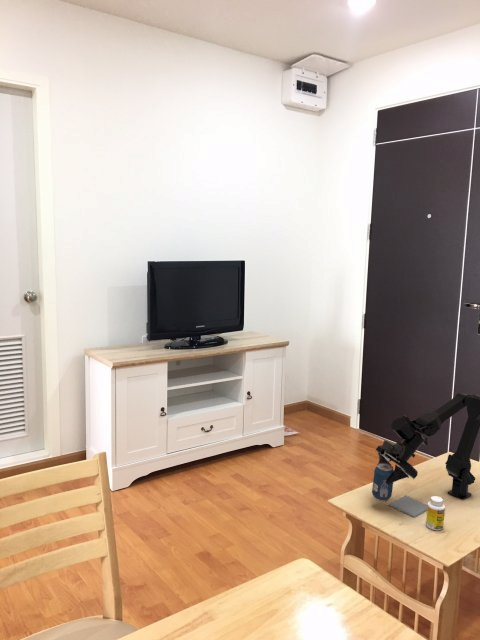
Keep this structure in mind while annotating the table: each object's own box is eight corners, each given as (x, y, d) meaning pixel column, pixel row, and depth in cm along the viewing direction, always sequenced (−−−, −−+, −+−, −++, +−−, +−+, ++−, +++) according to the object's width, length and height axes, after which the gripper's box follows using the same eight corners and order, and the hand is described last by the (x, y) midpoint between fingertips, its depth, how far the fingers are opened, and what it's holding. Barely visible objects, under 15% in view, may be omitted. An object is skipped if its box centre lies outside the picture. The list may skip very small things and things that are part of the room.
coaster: (405, 496, 202) (405, 495, 202) (431, 508, 193) (431, 506, 193) (387, 505, 195) (388, 503, 195) (414, 517, 187) (414, 516, 186)
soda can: (382, 489, 197) (386, 460, 195) (395, 499, 191) (399, 469, 189) (367, 493, 194) (371, 463, 192) (380, 503, 188) (383, 472, 186)
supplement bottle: (436, 533, 177) (438, 504, 176) (422, 525, 182) (424, 497, 180) (446, 528, 180) (449, 500, 179) (432, 520, 185) (435, 493, 183)
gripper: (381, 424, 198) (354, 456, 197) (412, 442, 181) (382, 477, 179) (398, 441, 202) (371, 473, 201) (430, 461, 185) (401, 496, 183)
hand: (380, 479), depth 191 cm, fingers closed on soda can, 7 cm apart
